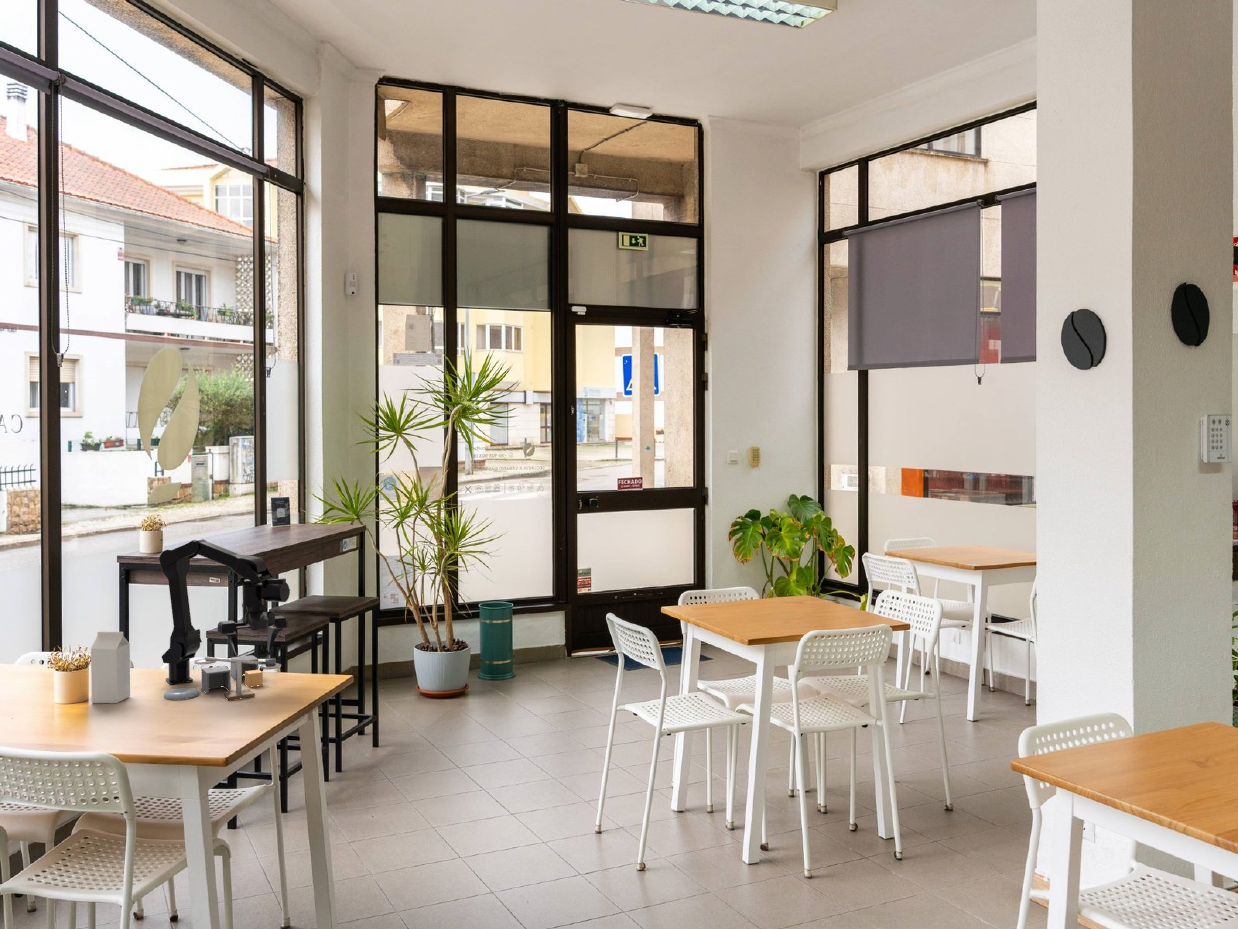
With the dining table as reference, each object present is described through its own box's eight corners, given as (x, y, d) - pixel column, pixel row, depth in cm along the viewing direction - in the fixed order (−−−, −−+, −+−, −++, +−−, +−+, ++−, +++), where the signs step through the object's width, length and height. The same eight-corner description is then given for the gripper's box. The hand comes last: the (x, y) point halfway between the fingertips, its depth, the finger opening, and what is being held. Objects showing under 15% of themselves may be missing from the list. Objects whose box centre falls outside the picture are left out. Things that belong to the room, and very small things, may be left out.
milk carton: (117, 703, 273) (116, 634, 272) (91, 703, 273) (90, 634, 272) (130, 697, 280) (129, 629, 279) (105, 696, 280) (104, 629, 280)
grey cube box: (201, 689, 288) (201, 668, 288) (225, 686, 292) (224, 665, 292) (207, 694, 283) (206, 673, 283) (230, 690, 287) (230, 670, 287)
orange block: (244, 685, 294) (244, 671, 294) (258, 683, 296) (258, 669, 296) (248, 687, 291) (248, 674, 291) (262, 685, 293) (262, 672, 293)
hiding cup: (230, 677, 303) (230, 657, 302) (252, 674, 306) (252, 655, 306) (236, 681, 297) (236, 661, 297) (258, 678, 301) (258, 659, 301)
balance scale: (192, 700, 276) (192, 656, 276) (277, 688, 290) (277, 646, 289) (197, 705, 272) (197, 660, 271) (283, 692, 285) (283, 649, 285)
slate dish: (161, 694, 283) (161, 691, 282) (194, 690, 288) (194, 686, 288) (167, 701, 275) (167, 698, 275) (202, 696, 280) (202, 693, 280)
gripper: (226, 608, 281) (226, 663, 282) (293, 601, 292) (293, 655, 292) (216, 602, 290) (217, 655, 291) (282, 596, 301) (282, 648, 301)
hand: (253, 653), depth 293 cm, fingers open, 9 cm apart
